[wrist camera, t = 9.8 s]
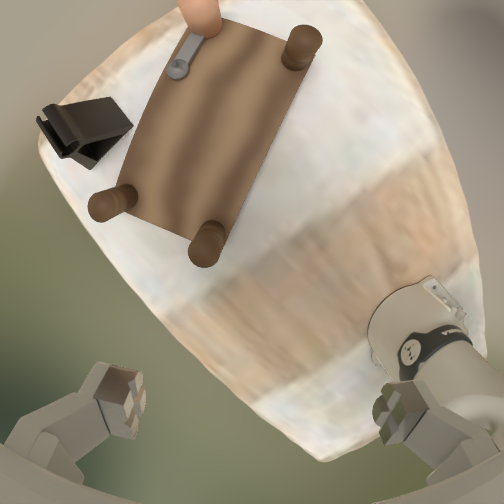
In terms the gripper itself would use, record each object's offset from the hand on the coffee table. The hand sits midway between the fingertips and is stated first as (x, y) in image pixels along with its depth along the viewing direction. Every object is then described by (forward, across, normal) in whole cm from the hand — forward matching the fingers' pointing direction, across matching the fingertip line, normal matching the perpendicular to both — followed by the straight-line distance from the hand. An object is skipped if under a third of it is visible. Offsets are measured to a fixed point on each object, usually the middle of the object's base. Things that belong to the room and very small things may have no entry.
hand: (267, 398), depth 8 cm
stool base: (+31, +6, -10) cm, 33 cm away
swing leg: (+28, +9, -21) cm, 36 cm away
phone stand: (+31, +22, -9) cm, 40 cm away
